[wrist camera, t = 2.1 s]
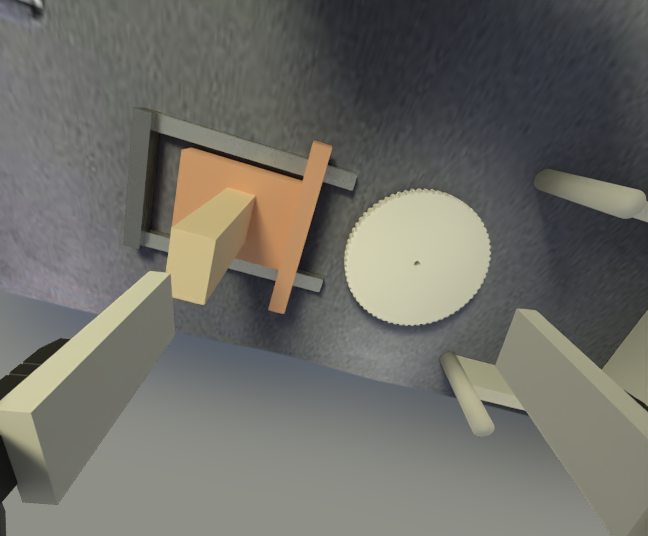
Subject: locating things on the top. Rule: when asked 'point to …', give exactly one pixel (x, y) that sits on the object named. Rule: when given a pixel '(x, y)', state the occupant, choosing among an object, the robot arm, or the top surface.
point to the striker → (239, 221)
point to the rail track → (154, 123)
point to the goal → (625, 364)
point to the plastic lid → (416, 257)
